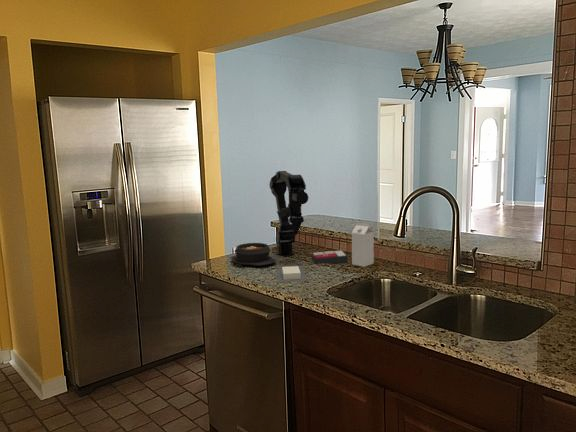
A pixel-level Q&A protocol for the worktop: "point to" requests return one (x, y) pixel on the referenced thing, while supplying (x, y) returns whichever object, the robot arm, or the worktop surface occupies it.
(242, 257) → the casserole
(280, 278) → the mat
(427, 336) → the worktop surface
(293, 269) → the box
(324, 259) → the calculator
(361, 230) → the milk carton
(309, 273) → the worktop surface
